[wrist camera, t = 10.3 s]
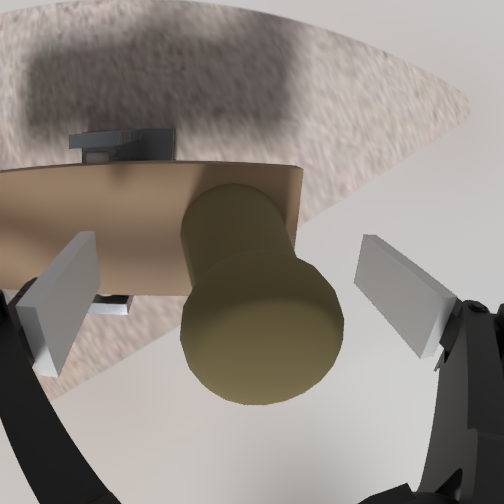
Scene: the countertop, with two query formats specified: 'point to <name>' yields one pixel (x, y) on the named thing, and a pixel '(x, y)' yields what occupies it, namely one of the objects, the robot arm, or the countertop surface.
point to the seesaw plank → (122, 216)
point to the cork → (253, 301)
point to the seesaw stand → (124, 149)
